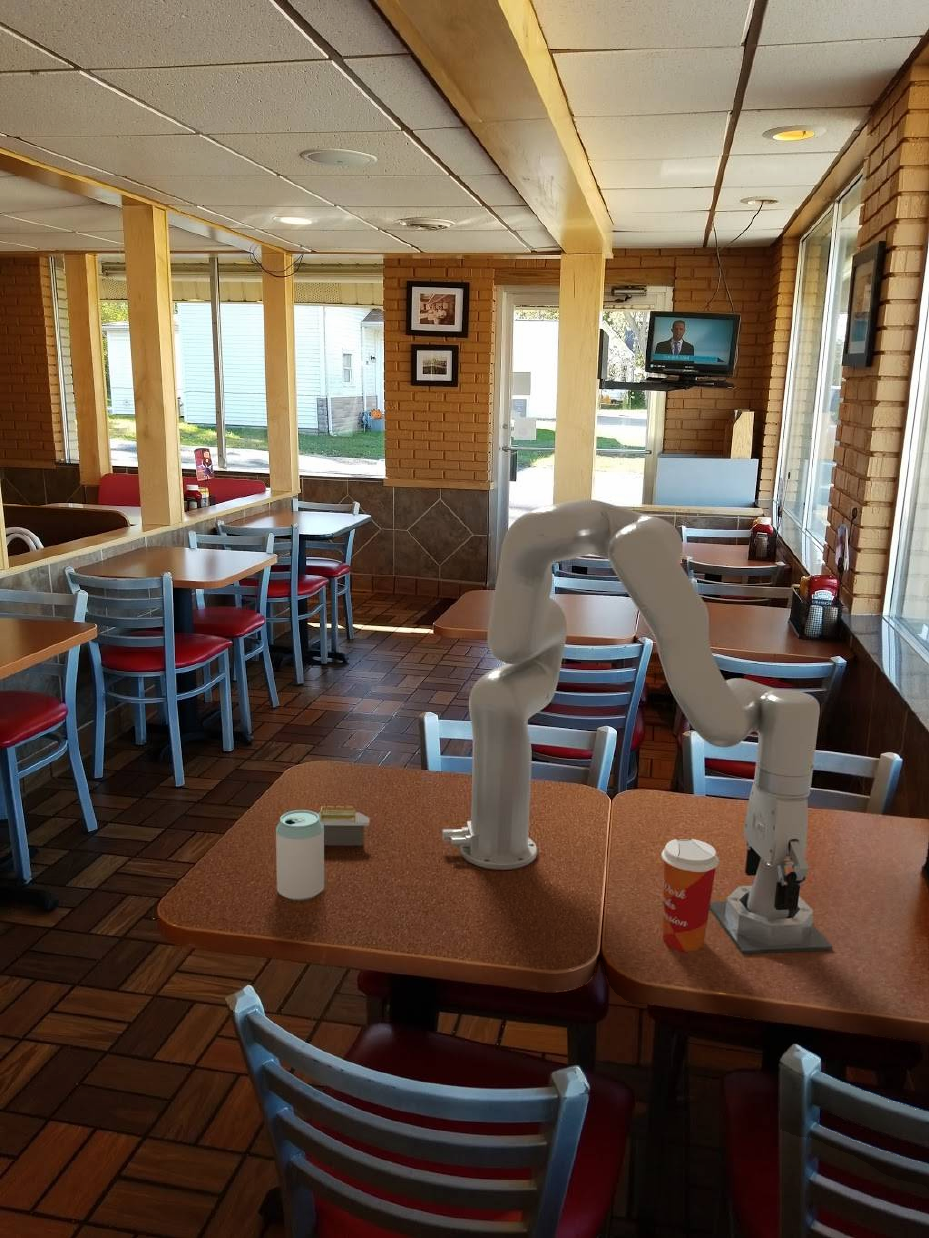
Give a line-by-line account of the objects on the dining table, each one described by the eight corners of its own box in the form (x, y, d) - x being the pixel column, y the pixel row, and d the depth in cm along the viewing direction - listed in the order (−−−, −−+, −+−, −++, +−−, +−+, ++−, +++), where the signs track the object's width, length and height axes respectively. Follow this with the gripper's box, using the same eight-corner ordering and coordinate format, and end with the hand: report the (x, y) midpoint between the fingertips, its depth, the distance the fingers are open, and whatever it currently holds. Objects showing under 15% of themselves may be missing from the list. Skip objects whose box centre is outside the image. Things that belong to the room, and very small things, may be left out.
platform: (291, 829, 167) (290, 793, 166) (394, 829, 168) (395, 794, 167) (281, 861, 156) (280, 824, 154) (392, 862, 156) (393, 824, 155)
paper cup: (648, 926, 138) (655, 836, 135) (700, 925, 139) (708, 836, 136) (664, 957, 131) (671, 863, 127) (719, 956, 131) (728, 862, 128)
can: (311, 906, 141) (310, 830, 139) (268, 898, 143) (266, 823, 141) (331, 884, 148) (331, 811, 145) (290, 876, 150) (289, 804, 147)
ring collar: (742, 954, 132) (745, 930, 131) (707, 905, 144) (709, 883, 144) (831, 949, 134) (834, 926, 133) (789, 902, 146) (791, 880, 145)
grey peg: (782, 913, 142) (791, 832, 139) (791, 934, 136) (801, 850, 133) (741, 910, 142) (750, 829, 139) (749, 931, 136) (757, 847, 134)
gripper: (732, 756, 142) (721, 863, 146) (785, 805, 125) (771, 924, 129) (780, 755, 143) (768, 861, 147) (839, 804, 126) (824, 922, 130)
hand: (770, 890), depth 138 cm, fingers open, 9 cm apart
